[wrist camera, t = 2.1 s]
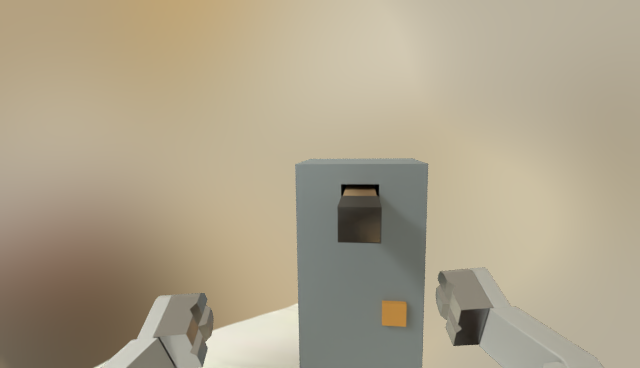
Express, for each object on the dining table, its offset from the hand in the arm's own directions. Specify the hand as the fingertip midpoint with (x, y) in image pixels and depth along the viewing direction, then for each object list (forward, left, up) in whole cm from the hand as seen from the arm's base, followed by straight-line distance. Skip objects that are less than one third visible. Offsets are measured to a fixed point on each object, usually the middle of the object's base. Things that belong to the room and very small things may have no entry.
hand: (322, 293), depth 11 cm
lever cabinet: (+1, +27, -28) cm, 39 cm away
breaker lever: (+1, +21, -2) cm, 21 cm away
